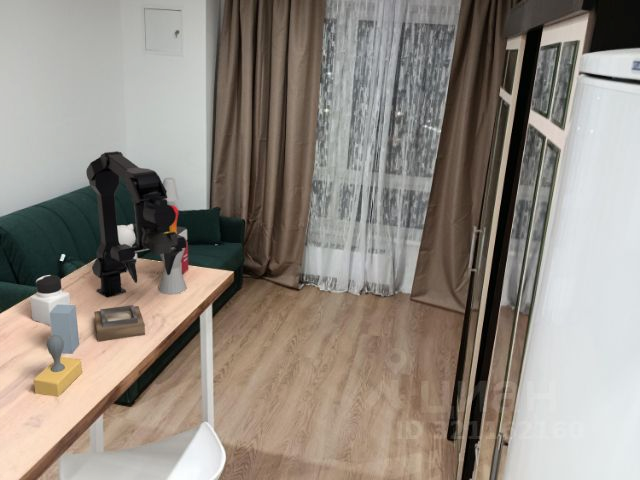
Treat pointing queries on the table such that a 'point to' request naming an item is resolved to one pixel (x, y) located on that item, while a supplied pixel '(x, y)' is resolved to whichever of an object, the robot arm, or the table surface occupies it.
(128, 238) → the cat figurine
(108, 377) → the table surface
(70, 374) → the rubber stamp
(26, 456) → the table surface
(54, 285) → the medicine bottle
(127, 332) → the walnut plinth
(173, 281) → the lava lamp
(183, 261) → the red and white box
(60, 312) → the slate post
